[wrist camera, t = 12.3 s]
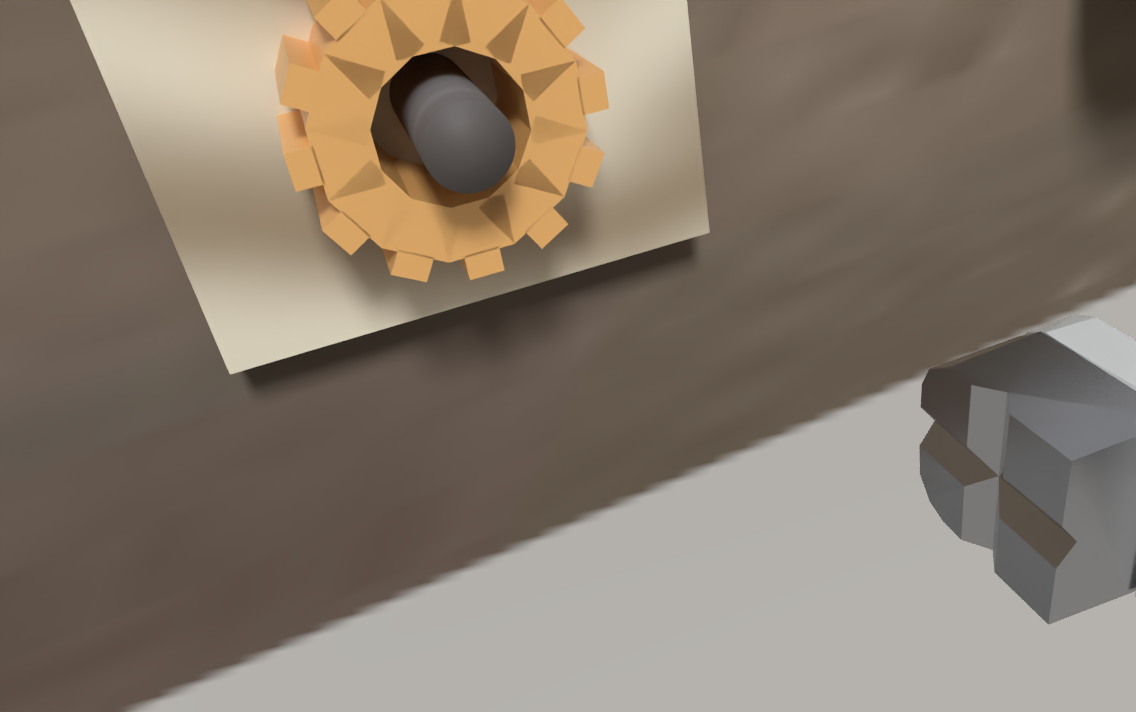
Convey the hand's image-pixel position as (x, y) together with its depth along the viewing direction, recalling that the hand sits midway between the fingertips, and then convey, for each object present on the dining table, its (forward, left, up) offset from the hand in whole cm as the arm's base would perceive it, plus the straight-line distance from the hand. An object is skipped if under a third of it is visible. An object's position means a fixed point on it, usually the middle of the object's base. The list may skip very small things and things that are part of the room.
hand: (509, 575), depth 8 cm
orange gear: (+1, +2, -16) cm, 16 cm away
